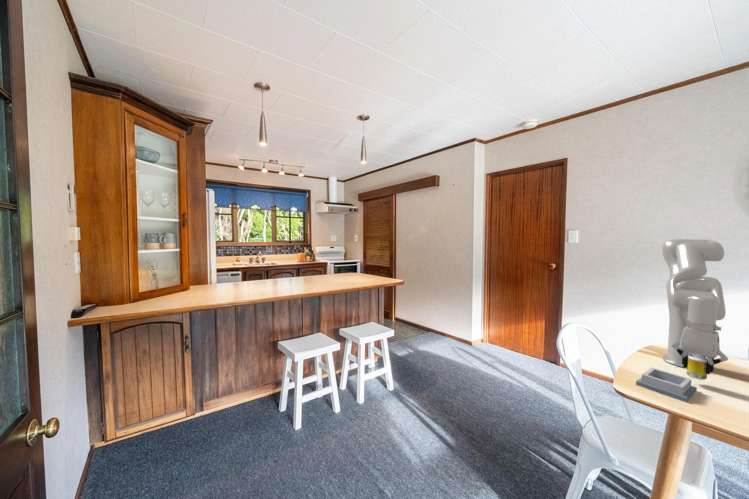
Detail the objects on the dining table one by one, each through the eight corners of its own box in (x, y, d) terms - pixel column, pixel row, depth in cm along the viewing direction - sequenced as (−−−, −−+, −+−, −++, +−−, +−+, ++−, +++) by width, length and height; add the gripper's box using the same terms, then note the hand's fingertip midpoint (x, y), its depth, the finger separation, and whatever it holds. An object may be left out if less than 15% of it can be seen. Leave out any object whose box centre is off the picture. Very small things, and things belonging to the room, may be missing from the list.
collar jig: (648, 375, 124) (648, 365, 123) (696, 391, 112) (697, 379, 112) (636, 384, 116) (636, 373, 116) (686, 402, 104) (687, 390, 104)
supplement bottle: (705, 382, 113) (707, 356, 112) (684, 375, 117) (686, 351, 116) (708, 377, 116) (710, 352, 115) (688, 371, 121) (690, 348, 120)
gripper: (737, 330, 109) (732, 376, 111) (673, 318, 124) (670, 359, 126) (733, 335, 105) (728, 382, 107) (667, 322, 120) (664, 363, 122)
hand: (696, 369), depth 116 cm, fingers closed on supplement bottle, 5 cm apart
